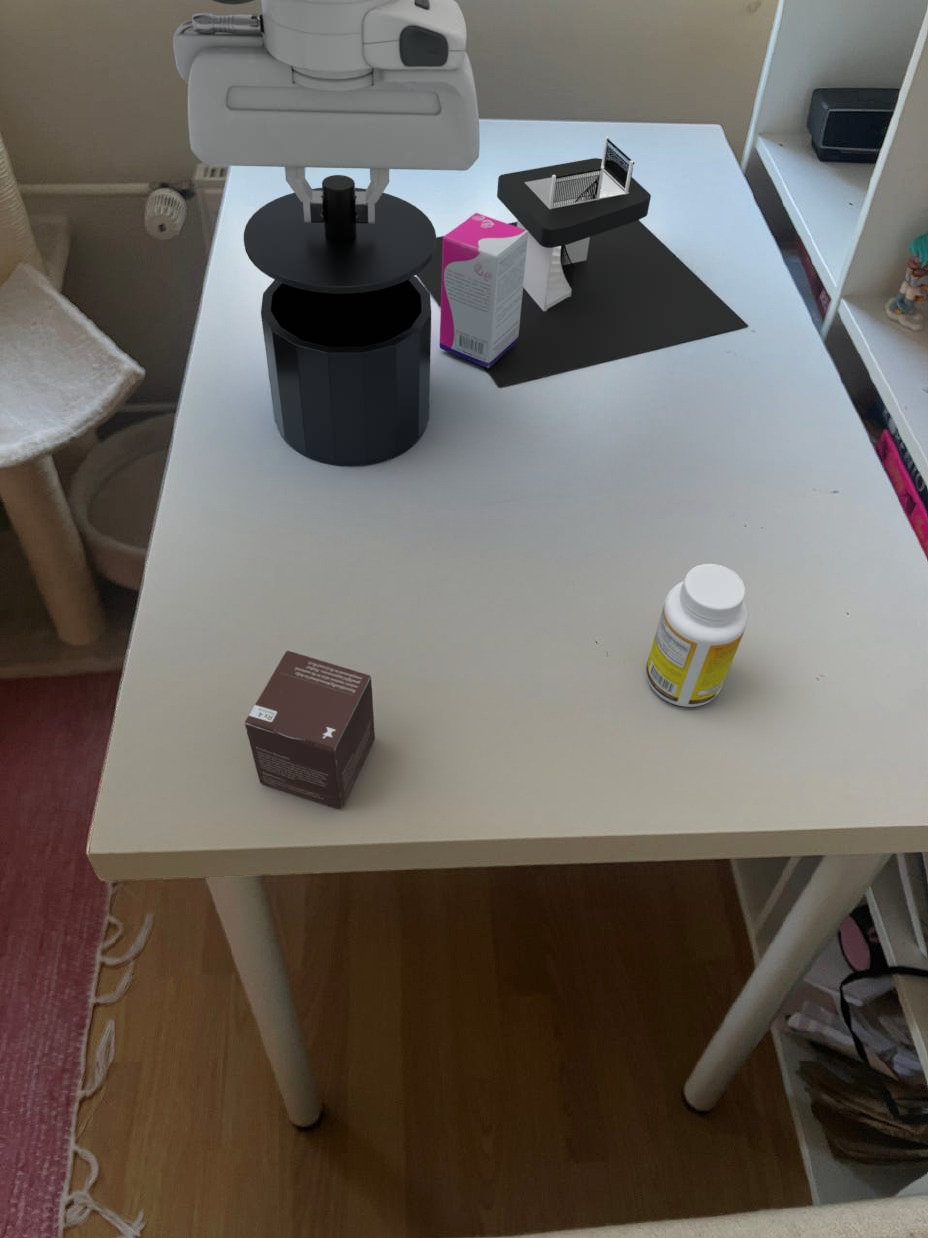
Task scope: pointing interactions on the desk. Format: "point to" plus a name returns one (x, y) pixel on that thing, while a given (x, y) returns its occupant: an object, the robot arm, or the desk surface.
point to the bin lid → (340, 242)
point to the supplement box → (482, 288)
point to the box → (312, 728)
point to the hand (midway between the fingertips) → (340, 219)
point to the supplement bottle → (697, 636)
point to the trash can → (349, 370)
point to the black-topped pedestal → (593, 272)
